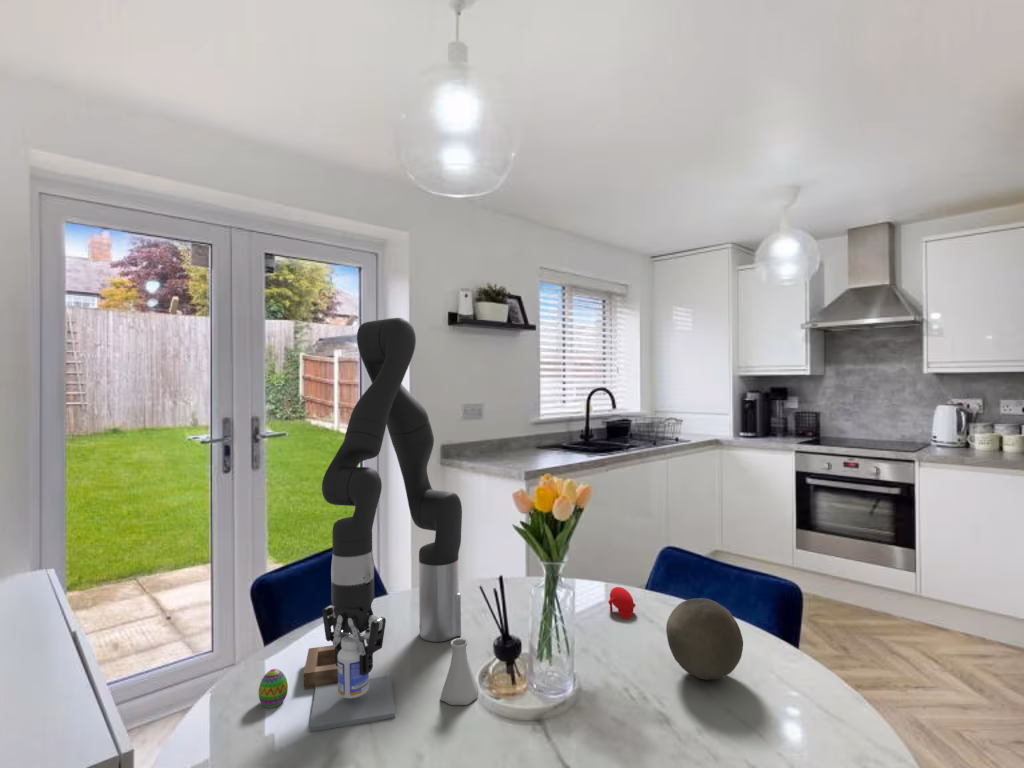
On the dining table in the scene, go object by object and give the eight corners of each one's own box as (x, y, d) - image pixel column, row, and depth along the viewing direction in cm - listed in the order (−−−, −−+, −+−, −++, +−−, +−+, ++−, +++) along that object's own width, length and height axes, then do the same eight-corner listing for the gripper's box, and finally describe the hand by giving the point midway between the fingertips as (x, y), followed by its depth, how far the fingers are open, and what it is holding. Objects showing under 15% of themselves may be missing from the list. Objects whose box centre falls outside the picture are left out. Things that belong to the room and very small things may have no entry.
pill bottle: (373, 683, 101) (372, 631, 101) (362, 700, 96) (361, 644, 96) (345, 682, 102) (344, 630, 102) (332, 698, 96) (332, 643, 96)
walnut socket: (361, 655, 117) (361, 641, 117) (361, 680, 106) (361, 665, 106) (308, 662, 114) (308, 648, 114) (303, 689, 103) (303, 673, 104)
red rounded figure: (601, 595, 141) (605, 590, 136) (621, 585, 142) (625, 580, 137) (616, 625, 137) (621, 621, 132) (637, 615, 139) (642, 611, 133)
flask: (485, 688, 103) (484, 636, 103) (469, 710, 96) (469, 653, 96) (450, 682, 105) (450, 631, 106) (433, 703, 99) (432, 647, 99)
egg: (255, 712, 96) (255, 678, 96) (262, 696, 101) (262, 664, 101) (284, 708, 97) (284, 675, 97) (290, 693, 102) (290, 661, 102)
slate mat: (391, 679, 107) (391, 675, 107) (395, 717, 94) (395, 712, 94) (315, 690, 103) (315, 686, 103) (309, 731, 90) (309, 727, 90)
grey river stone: (669, 656, 115) (668, 585, 115) (741, 666, 110) (740, 592, 110) (664, 691, 101) (663, 610, 102) (746, 704, 97) (745, 620, 97)
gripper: (309, 576, 99) (309, 669, 99) (367, 589, 92) (367, 689, 92) (340, 564, 106) (341, 651, 106) (396, 576, 99) (397, 669, 98)
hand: (353, 668), depth 99 cm, fingers closed on pill bottle, 5 cm apart
